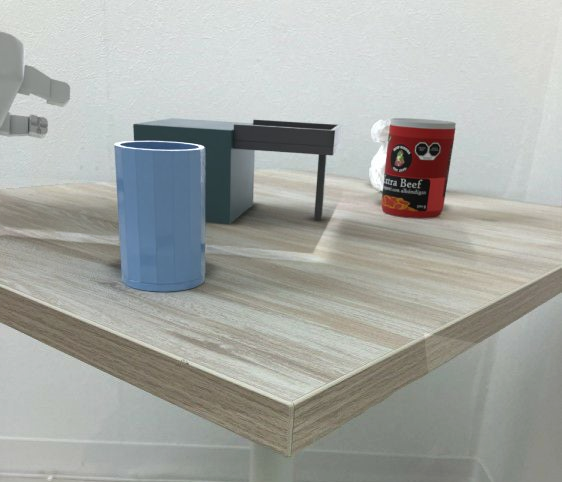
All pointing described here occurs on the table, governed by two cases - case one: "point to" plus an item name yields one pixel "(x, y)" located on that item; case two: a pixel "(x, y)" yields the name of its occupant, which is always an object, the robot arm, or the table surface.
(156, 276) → the cylindrical container
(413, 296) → the table surface
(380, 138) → the bust
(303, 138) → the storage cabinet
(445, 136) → the canned food
